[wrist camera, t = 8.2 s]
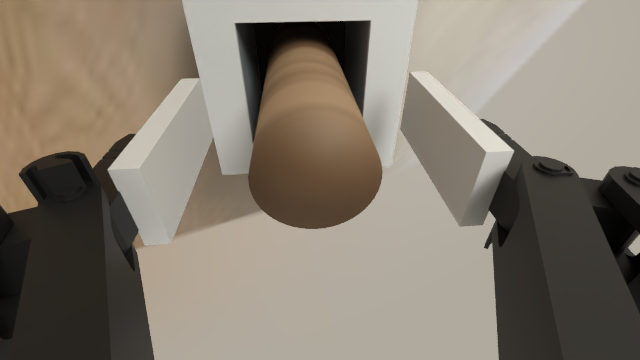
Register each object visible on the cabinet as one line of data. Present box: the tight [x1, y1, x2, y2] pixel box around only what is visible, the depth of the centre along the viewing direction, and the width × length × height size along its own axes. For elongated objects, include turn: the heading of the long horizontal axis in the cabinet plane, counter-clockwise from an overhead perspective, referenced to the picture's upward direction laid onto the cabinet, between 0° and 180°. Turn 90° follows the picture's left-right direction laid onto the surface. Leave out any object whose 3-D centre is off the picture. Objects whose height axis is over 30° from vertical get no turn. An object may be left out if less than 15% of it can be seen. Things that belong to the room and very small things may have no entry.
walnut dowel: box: [248, 21, 382, 229], centre depth 15 cm, size 4×4×15 cm
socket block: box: [182, 0, 418, 175], centre depth 19 cm, size 10×10×7 cm
